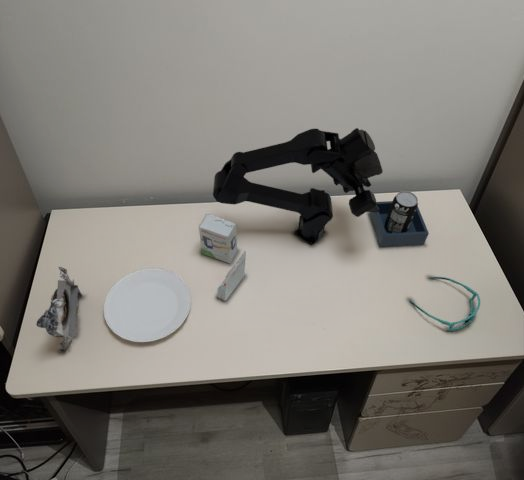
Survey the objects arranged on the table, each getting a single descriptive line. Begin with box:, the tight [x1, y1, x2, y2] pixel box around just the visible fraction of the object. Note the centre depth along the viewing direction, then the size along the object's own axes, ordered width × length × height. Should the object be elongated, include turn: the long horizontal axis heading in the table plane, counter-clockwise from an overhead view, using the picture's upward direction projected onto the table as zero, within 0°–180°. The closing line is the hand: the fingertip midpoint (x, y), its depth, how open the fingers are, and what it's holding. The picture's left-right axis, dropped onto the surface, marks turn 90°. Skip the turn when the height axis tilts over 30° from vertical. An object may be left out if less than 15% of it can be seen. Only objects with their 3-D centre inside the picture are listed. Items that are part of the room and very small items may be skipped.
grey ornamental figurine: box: [36, 266, 83, 353], centre depth 112 cm, size 15×4×13 cm, turn 4°
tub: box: [368, 200, 430, 248], centre depth 138 cm, size 13×13×5 cm
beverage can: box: [385, 190, 419, 233], centre depth 135 cm, size 7×7×12 cm
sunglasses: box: [409, 276, 481, 332], centre depth 123 cm, size 14×15×5 cm
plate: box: [103, 267, 192, 343], centre depth 119 cm, size 21×21×2 cm
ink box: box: [198, 213, 238, 264], centre depth 127 cm, size 9×5×12 cm, turn 68°
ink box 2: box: [217, 250, 247, 302], centre depth 121 cm, size 3×9×12 cm, turn 150°
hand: (373, 198), depth 128 cm, fingers open, 9 cm apart
